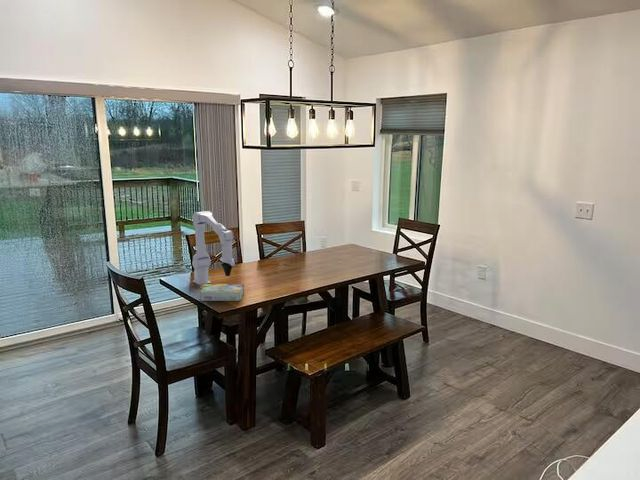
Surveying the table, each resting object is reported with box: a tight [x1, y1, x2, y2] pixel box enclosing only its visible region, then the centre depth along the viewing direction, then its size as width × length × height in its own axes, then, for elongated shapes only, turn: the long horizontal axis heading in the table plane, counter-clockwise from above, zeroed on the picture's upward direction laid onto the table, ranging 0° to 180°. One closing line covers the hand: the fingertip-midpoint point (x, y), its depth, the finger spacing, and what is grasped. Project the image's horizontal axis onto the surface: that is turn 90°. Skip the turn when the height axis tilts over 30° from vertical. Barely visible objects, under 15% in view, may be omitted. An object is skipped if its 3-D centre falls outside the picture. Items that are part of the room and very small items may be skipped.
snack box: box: [199, 283, 245, 302], centre depth 254 cm, size 21×6×15 cm
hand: (227, 275), depth 260 cm, fingers closed
